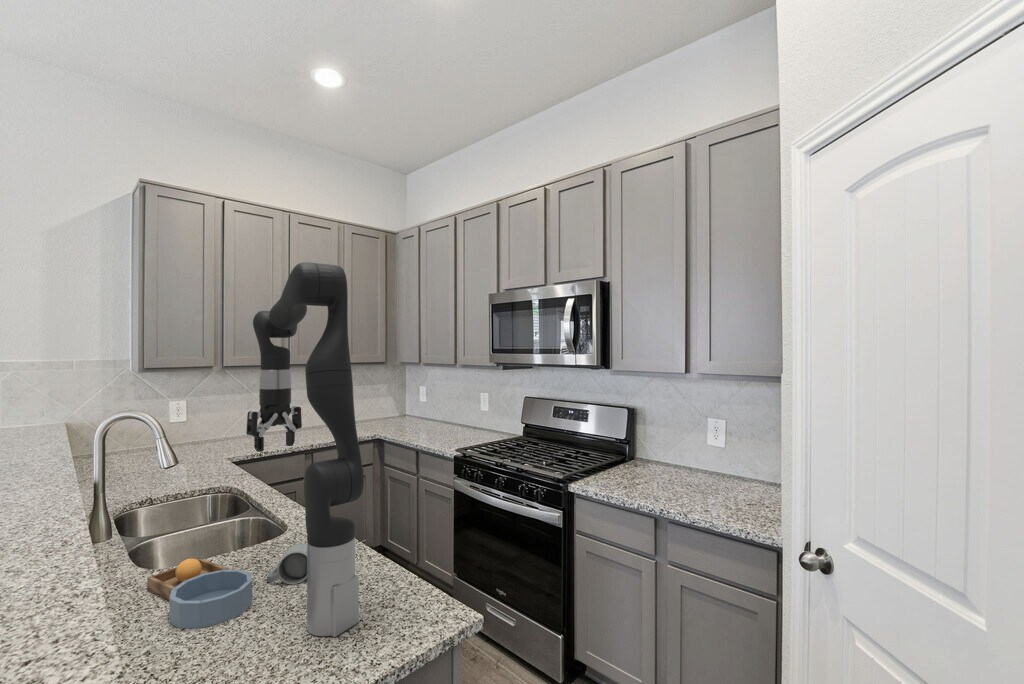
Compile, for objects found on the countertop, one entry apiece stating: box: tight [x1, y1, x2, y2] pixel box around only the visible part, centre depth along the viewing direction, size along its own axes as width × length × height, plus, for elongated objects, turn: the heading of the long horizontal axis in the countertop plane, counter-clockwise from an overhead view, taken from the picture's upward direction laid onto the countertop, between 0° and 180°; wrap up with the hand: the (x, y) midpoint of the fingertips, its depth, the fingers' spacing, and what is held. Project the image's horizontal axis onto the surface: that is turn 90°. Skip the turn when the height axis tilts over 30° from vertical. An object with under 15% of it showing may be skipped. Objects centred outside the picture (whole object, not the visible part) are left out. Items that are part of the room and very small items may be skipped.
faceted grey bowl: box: [168, 569, 253, 629], centre depth 105 cm, size 15×15×5 cm
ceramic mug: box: [266, 542, 307, 585], centre depth 119 cm, size 11×8×8 cm
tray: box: [146, 558, 230, 602], centre depth 115 cm, size 12×12×3 cm
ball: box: [175, 558, 202, 582], centre depth 115 cm, size 5×5×5 cm
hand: (275, 448), depth 128 cm, fingers open, 8 cm apart
